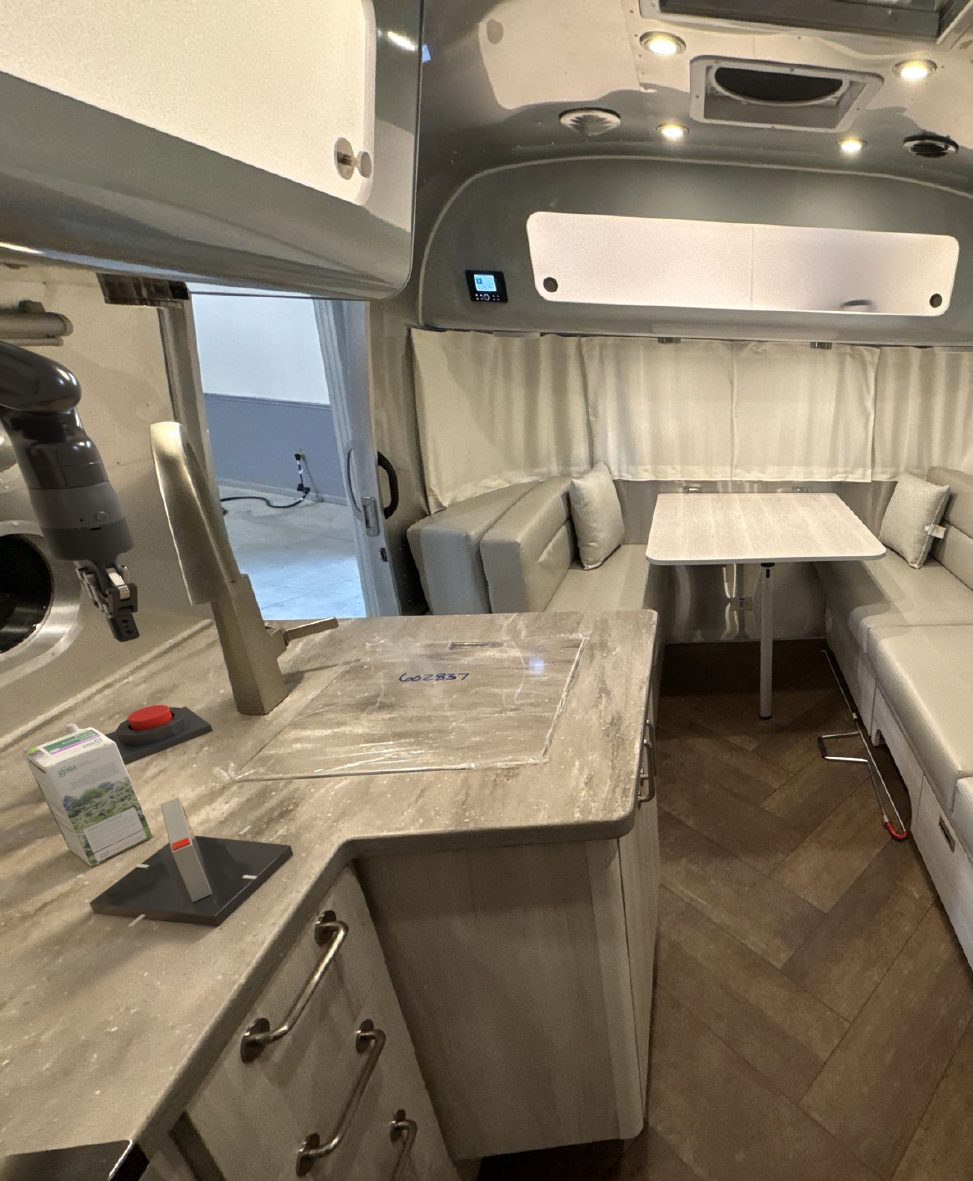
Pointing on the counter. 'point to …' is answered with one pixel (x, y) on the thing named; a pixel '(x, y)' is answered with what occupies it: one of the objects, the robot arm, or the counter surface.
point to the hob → (165, 894)
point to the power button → (150, 717)
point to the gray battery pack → (185, 849)
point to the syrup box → (89, 794)
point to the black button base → (158, 735)
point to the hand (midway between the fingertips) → (128, 638)
